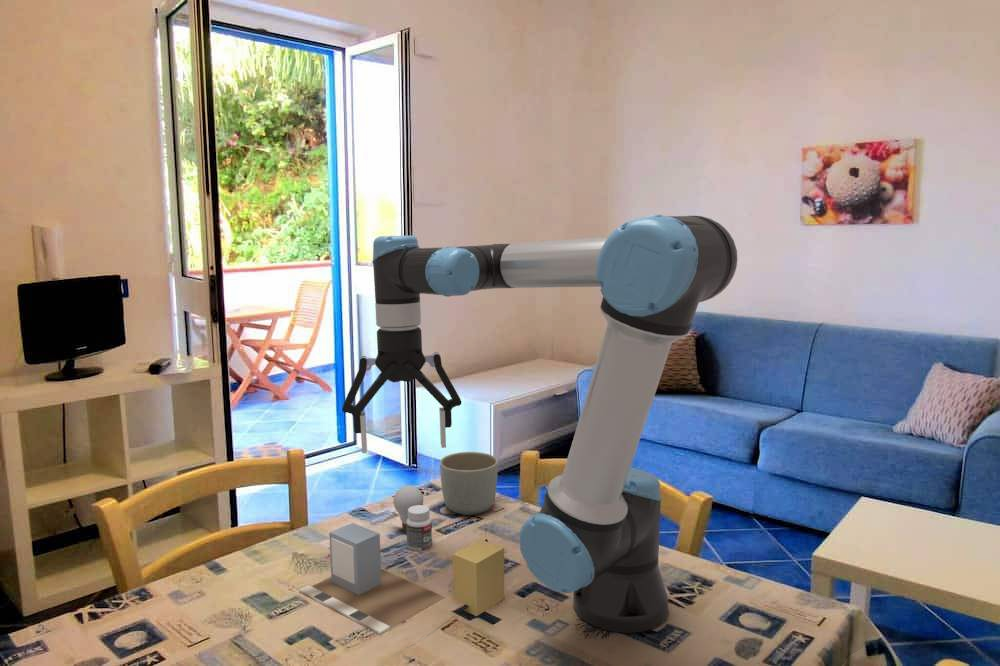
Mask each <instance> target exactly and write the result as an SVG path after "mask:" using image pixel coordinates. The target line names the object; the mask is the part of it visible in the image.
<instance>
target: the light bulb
mask: <svg viewBox="0 0 1000 666" xmlns="http://www.w3.org/2000/svg"><path fill="white" fill-rule="evenodd" d="M392 503H393V506H394V509H395V510H396V512H397V514H398V515H399V518H400V521H401V525H402V526H401V527H402V528H401V529H402V530H403V531H404V532H407V526H406V522H407V519H408V518H409V517H408V509H409V508H410V507H412V506H416V505H423V504H424V496H423V493H422V491H421V490H420V489H419V488H418V487H417V486H414V485H411V484H410V485H404V486H401V487H400V488H398V489H397V490H396V492H395V494H394V496H393V502H392ZM423 506H424V505H423Z"/></svg>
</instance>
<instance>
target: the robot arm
mask: <svg viewBox="0 0 1000 666" xmlns="http://www.w3.org/2000/svg"><path fill="white" fill-rule="evenodd" d="M418 241H419V240H418V238H417V237H416V236H415V235H386V236H385V235H384V236H382V235H381V236H378V237H376V238H375V239H374V241H373V244H372V245H373V246H372V252H373V253H372V265H373V281H374V299H375V303H374V304H375V305H374V307H375V321H376V325H375V326H377V327H379V328H378V329H377V331H376V341H377V342H376V343H377V344H376V345H377V355H376V357H367V356H366V355H362V356H360V357H359V364H358V365H359V366H358V371H357V374H356V376H355V378H354V379H353V382H352V384H351V386H350V389H349V391H348V393H347V395H346V397H345V400H344V402H343V404H342V408H341V411H342V412H343V413H345V414H346V413H348V414H351V415H352V417H353V418H352V419H353V431H354V434H360V438H361V439H360V440H361V441H360V442H361V453H362V454H367V451H368V442H367V441H368V439H367V422H366V420H367V419H366V412H365V411H364V410H365V408H366V407H367V405H369V403H370V402H371V400H372V399H373V398H374V396H375V395H376V394H377V393H378V392H379V391H380V389H381V388H382V386H384V385H385V384H386V383H387V381H388V382H391V383H399V382H401V381H402V382H406V383H408V382H409V383H410V382H411V381H413V380H415V379H416V381H417V382H418V383H419V384H421V386H423V388H424V389H425V390H427V391H428V393H429V394H430V395H431V396H432V397H433V398H434V399H435V401H437V402H438V404H439V405H441V407H439V430H440V431H439V436H440V447H441V448H443V449H445V448H447V440H446V439H447V435H446V428H451V427H452V425H453V421H452V409H453V408H455V407H459V406H461V405H462V400H461V397H460V396H459V394H458V392H457V390H456V388H455V387H454V385H453V384H452V381H451V379H450V378H449V375H448V374H447V373H446V371H445V369H444V366H443V364H442V357H441V355H440V353H439V352H438V351H435V352H433V354H432V353H431V354H426V355H424V353H423V341H422V339H423V337H422V329H421V328H420V327H419V326H420V325H421V324H422V316H421V315H422V314H421V313H422V312H421V311H422V310H421V296H420V295H421V294H423V295H424V294H425V295H436V296H438V295H439V296H443V297H447V298H448V297H455V296H456V297H457V296H465V295H468V294H469V293H470V292H475V291H479V290H493V289H515V288H516V289H517V288H518V289H520V288H521V289H525V288H527V289H529V288H531V289H533V288H535V289H536V288H595V287H596V288H598V287H599V288H600V290H599V291H600V292H601V295H602V296H603V297H602V300H601V304H600V309H599V310H600V313H602V315H603V317H604V319H605V321H606V322H607V325H606V329H605V332H604V336H603V339H602V342H601V345H600V348H599V351H598V355H597V359H596V362H595V366H594V369H593V372H592V376H591V379H590V382H589V386H588V389H587V393H586V395H585V398H584V401H583V405H582V409H581V413H580V414H579V419H578V421H577V426H576V428H575V432H574V435H573V440H572V442H571V446H570V449H569V452H568V456H567V458H566V462H565V465H564V470H563V472H562V474H560V475H557V476H555V477H554V478H552V479H551V480H550V482H549V483H548V485H547V488H546V493H545V496H544V499H543V503H542V504H541V505H542V506H541V508H540V510H539V512H538V513H535V514H533V515H530V516H529V518H528V519H526V521H525V522H524V523H523V525H522V526H521V529H520V531H519V548H520V552H521V553H520V554H521V556H522V558H523V559H524V562H525V563H526V567H527V569H528V570H529V571H530V573H531V574H532V576H534V577H535V579H537V581H539V582H540V584H542V585H544V586H545V588H546V587H547V588H548V589H549V590H551V591H554V592H557V593H561V594H562V593H563V594H567V593H568V594H569V593H570V594H571V593H573V609H574V611H575V613H576V614H577V615H578V617H580V619H581V620H582V621H584V622H585V623H587V624H589V625H591V626H593V627H595V628H598V629H601V630H604V631H608V632H615V633H623V634H625V633H626V634H627V633H634V634H635V633H641V632H646V631H650V630H653V629H655V628H657V627H659V626H661V625H662V624H663V623H664V622H665V621H666V619H667V617H668V615H669V596H668V593H667V590H666V587H665V584H664V579H663V576H662V573H661V569H660V566H659V553H660V530H661V529H660V528H661V527H660V526H661V503H662V500H663V499H662V496H661V483H660V481H659V479H658V478H657V477H656V476H655V475H653V473H650V472H648V471H645V470H642V469H638V468H636V467H635V468H634V467H632V464H633V461H634V458H635V455H636V452H637V448H638V446H639V443H640V441H641V438H642V433H643V431H644V428H645V425H646V422H647V419H648V416H649V413H650V411H651V407H652V403H653V402H654V398H655V395H656V392H657V390H658V386H659V383H660V380H661V377H662V374H663V371H664V368H665V365H666V363H667V360H668V356H669V353H670V350H671V348H672V347H671V346H672V344H673V343H674V342H676V341H679V340H682V339H683V338H686V337H687V336H688V334H689V332H690V330H691V326H692V323H693V321H694V319H695V315H696V312H697V309H698V306H699V303H701V302H705V301H708V300H711V299H713V298H715V297H716V296H718V295H719V294H721V293H722V292H723V291H724V290H725V289H726V288H727V287H728V286H729V284H730V283H731V281H732V280H733V277H734V276H735V274H736V270H737V267H738V250H737V247H736V244H735V241H734V238H733V237H732V235H731V234H730V233H729V231H728V230H727V229H726V227H724V226H723V225H722V224H721V223H719V222H718V221H716V220H714V219H711V218H709V217H706V216H703V215H679V216H678V215H677V216H674V215H663V214H651V215H647V216H643V217H640V218H634V219H631V220H629V221H627V222H624V223H623V224H621V225H620V226H618V227H617V228H616V229H614V231H612V232H611V234H609V236H603V237H602V236H599V237H587V238H586V237H585V238H571V239H570V238H569V239H555V240H541V241H529V242H527V241H526V242H514V243H494V244H493V243H492V244H483V245H481V244H480V245H469V246H468V245H466V246H464V245H463V246H445V247H420V246H419V243H418ZM426 363H428V364H429V365H430V367H432V368H434V369H435V371H436V373H437V375H438V377H439V378H440V380H441V382H442V383H443V386H444V388H445V389H446V391H447V393H448V394H449V397H450V399H447V397H446V396H445V395H444V394H443V393H442V392H441V391H440V389H438V388H437V387H436V385H434V384H433V382H432V381H430V380H429V378H428V377H427V376H426V374H424V373H423V372H422V368H423V367H424V365H425V364H426ZM373 366H375V367H376V368H377V369H378V370H379V372H380V373H379V374H378V376H377V378H376V379H375V380H374V381H373V383H372V384H371V386H369V387H368V389H367V391H365V393H364V394H363V395H362V397H361V398H360V399H359V400H358V402H357V403H356V404H353V403H354V400H355V399H356V396H357V394H358V392H359V389H360V387H361V385H362V383H363V381H364V378H365V376H366V372H367V371H370V370H372V367H373Z"/></svg>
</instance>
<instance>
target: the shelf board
mask: <svg viewBox="0 0 1000 666" xmlns="http://www.w3.org/2000/svg"><path fill="white" fill-rule="evenodd" d="M298 593H300V594H302V595H304V596H306V597H308V598H309V599H311V600H313V601H314V602H316V603H319V604H320V605H322V606H324V607H326V608H328V609H330V610H332V611H334V612H336V613H338V614H339V615H341V616H343V617H345V618H347V619H349V620H351V621H353V622H355V623H357V624H359V625H360V626H362V627H364V628H366V629H368V630H370V631H372V632H374V633H375V634H378V635H379V636H380V635H383V634H385V633H386V632H387V631H390V630H391V629H393V628H395V627H396V626H398V625H400V624H402V623H403V622H405V621H407V620H408V619H410V618H412V617H414V616H415V615H417V614H419V613H420V612H423V611H424V610H425V609H428V608H429V607H431V606H433V605H434V604H437V602H439V601H441V600H443V599H444V598H445V596H444V595H441V594H438V593H437V592H434V591H433V590H430V589H427V588H425V587H423V586H421V585H418V584H416V583H414V582H412V581H409V580H407V579H405V578H403V577H401V576H398V575H396V574H394V573H392V572H389V571H387V570H385V569H382V568H381V584H379V585H377V586H375V587H374V588H372V589H370V590H368V591H366V592H364V593H362V594H360V595H357V594H355V593H353V592H351V591H349V590H347V589H345V588H343V587H341V586H339V585H337V584H335V583H332V580H331V576H329V577H328V578H326V579H324V580H322V581H319V582H318V583H316V584H313V585H310V584H308V585H307V586H304V587H302V588H300V589H299V590H298Z"/></svg>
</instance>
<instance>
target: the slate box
mask: <svg viewBox="0 0 1000 666" xmlns="http://www.w3.org/2000/svg"><path fill="white" fill-rule="evenodd" d="M328 534H329V554H330V577H331V580H332V583H335V584H337V585H339V586H341V587H343V588H345V589H347V590H349V591H351V592H353V593H355V594H357V595H360V594H362V593H364V592H366V591H368V590H370V589H372V588H374V587H375V586H377V585H379V584H381V569H382V562H381V561H382V560H381V559H382V557H381V534H380V533H379V532H376V531H374V530H372V529H369V528H367V527H364V526H362V525H359V524H356V523H354V522H351V523H348V524H346V525H343V526H342V527H341V526H340V527H339V528H336V529H334V530H332V531H329V533H328Z"/></svg>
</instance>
